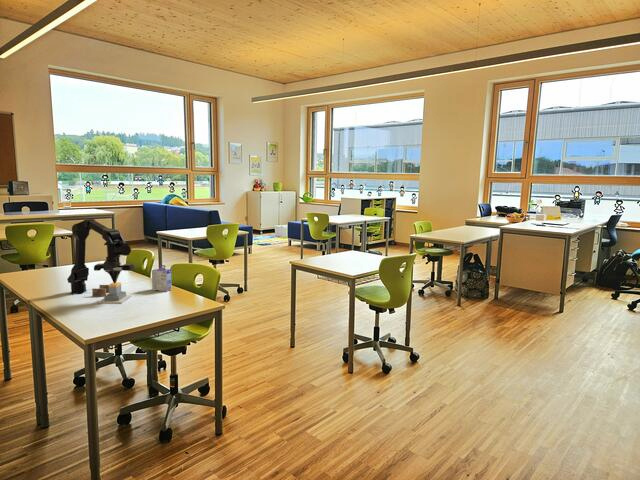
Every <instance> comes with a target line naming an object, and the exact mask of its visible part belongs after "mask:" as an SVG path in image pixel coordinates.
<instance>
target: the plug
mask: <svg viewBox="0 0 640 480" xmlns="http://www.w3.org/2000/svg"><path fill="white" fill-rule="evenodd" d="M108 285H109V292H108V294H109V296H118V295H119V294H121V293H122V292H123V291H122V282H121V281H120V282H119V281H116V283H113V282H112V283H110V284H108Z"/></svg>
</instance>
